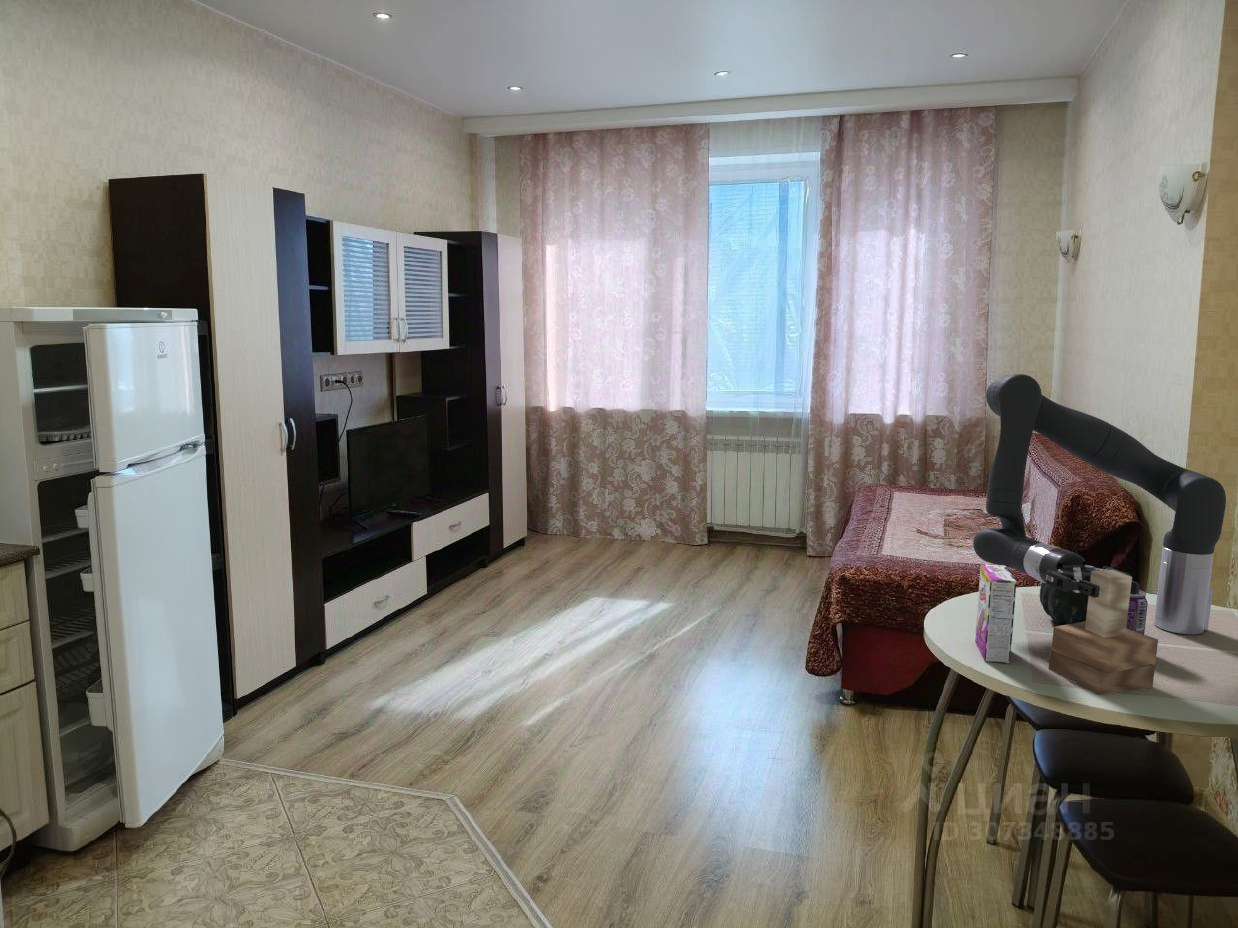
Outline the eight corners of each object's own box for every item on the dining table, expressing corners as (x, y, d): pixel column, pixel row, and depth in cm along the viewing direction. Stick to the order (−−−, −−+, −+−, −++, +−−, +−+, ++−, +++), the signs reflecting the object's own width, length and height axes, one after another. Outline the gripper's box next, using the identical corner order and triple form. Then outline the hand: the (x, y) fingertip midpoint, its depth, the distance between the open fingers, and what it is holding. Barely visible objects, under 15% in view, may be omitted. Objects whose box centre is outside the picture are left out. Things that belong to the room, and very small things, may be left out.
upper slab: (1096, 641, 178) (1099, 618, 177) (1155, 663, 167) (1158, 639, 166) (1051, 650, 173) (1053, 626, 172) (1108, 673, 162) (1111, 648, 161)
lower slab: (1099, 664, 178) (1101, 642, 177) (1152, 689, 167) (1155, 665, 166) (1048, 671, 174) (1050, 648, 174) (1098, 696, 163) (1101, 672, 162)
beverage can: (1138, 645, 187) (1145, 588, 185) (1145, 657, 181) (1152, 598, 179) (1099, 641, 190) (1105, 584, 188) (1104, 653, 183) (1111, 594, 181)
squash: (1107, 589, 206) (1067, 540, 204) (1143, 614, 192) (1100, 561, 189) (1054, 628, 208) (1014, 580, 206) (1085, 656, 194) (1043, 604, 192)
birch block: (1106, 627, 172) (1112, 569, 170) (1125, 635, 168) (1132, 576, 166) (1085, 628, 171) (1091, 570, 169) (1103, 637, 167) (1110, 578, 165)
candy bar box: (973, 641, 188) (979, 563, 185) (999, 644, 187) (1006, 564, 184) (982, 662, 177) (990, 578, 174) (1010, 664, 176) (1018, 580, 173)
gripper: (1024, 549, 179) (1086, 572, 164) (1086, 545, 183) (1153, 568, 167) (1021, 586, 180) (1082, 613, 165) (1082, 582, 184) (1148, 608, 169)
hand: (1117, 590), depth 166 cm, fingers open, 8 cm apart
